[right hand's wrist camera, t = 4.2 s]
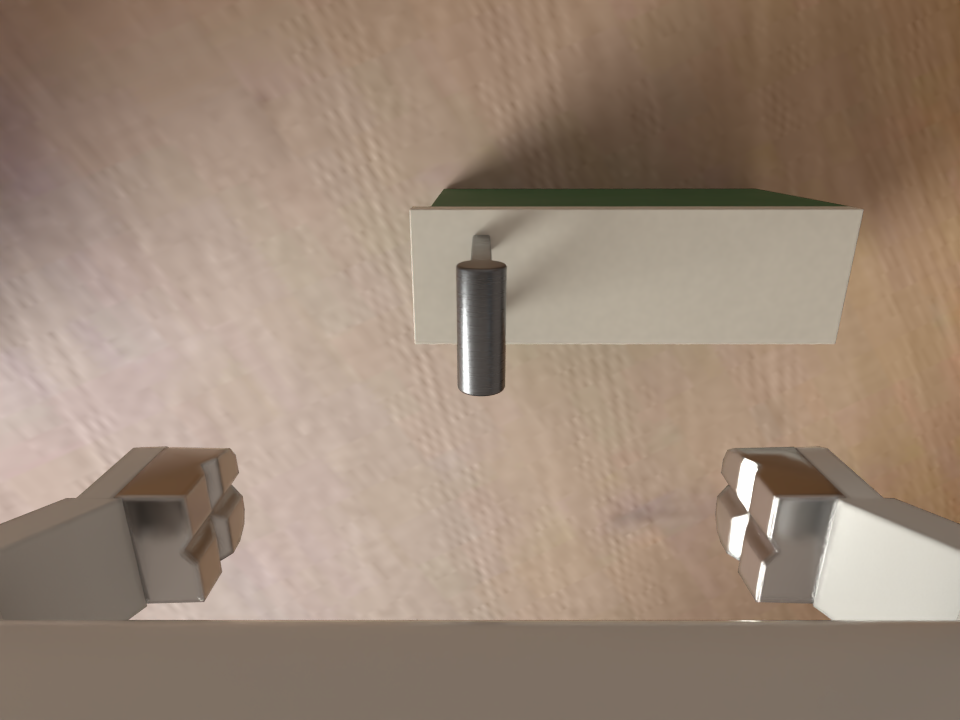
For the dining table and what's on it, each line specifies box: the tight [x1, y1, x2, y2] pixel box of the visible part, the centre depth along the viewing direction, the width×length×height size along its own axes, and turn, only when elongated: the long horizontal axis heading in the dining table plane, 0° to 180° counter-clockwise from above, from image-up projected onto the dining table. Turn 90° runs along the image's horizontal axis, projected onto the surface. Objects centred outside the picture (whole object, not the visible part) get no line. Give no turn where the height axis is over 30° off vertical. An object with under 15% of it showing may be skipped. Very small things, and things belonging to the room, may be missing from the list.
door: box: [410, 206, 864, 396], centre depth 22 cm, size 18×6×8 cm, turn 90°
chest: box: [431, 189, 845, 207], centre depth 30 cm, size 17×6×9 cm, turn 90°
